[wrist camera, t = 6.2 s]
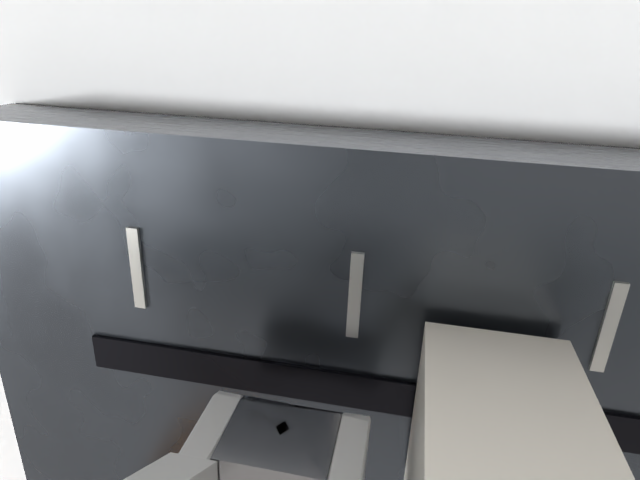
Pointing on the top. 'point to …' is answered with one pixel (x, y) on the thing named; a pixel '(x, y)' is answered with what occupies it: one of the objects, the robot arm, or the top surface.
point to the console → (289, 273)
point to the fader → (507, 411)
